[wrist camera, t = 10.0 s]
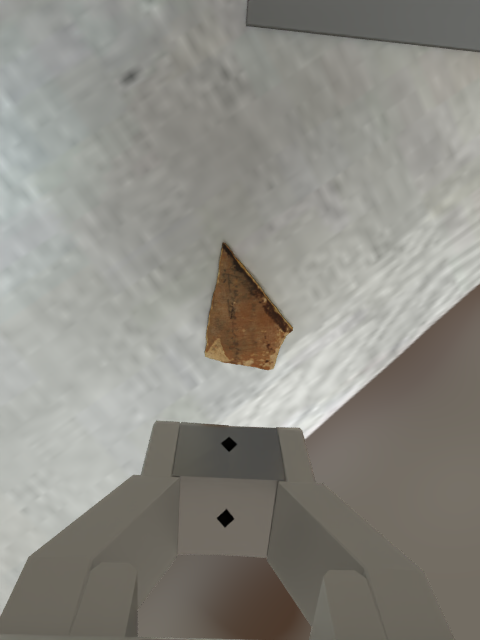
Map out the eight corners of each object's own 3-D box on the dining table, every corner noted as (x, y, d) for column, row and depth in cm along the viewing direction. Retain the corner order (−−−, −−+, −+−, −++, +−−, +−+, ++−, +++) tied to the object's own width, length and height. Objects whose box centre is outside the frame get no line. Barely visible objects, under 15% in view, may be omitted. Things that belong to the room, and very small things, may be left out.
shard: (223, 239, 38) (223, 243, 37) (308, 256, 39) (312, 260, 37) (202, 351, 42) (200, 359, 40) (280, 364, 43) (282, 373, 41)
